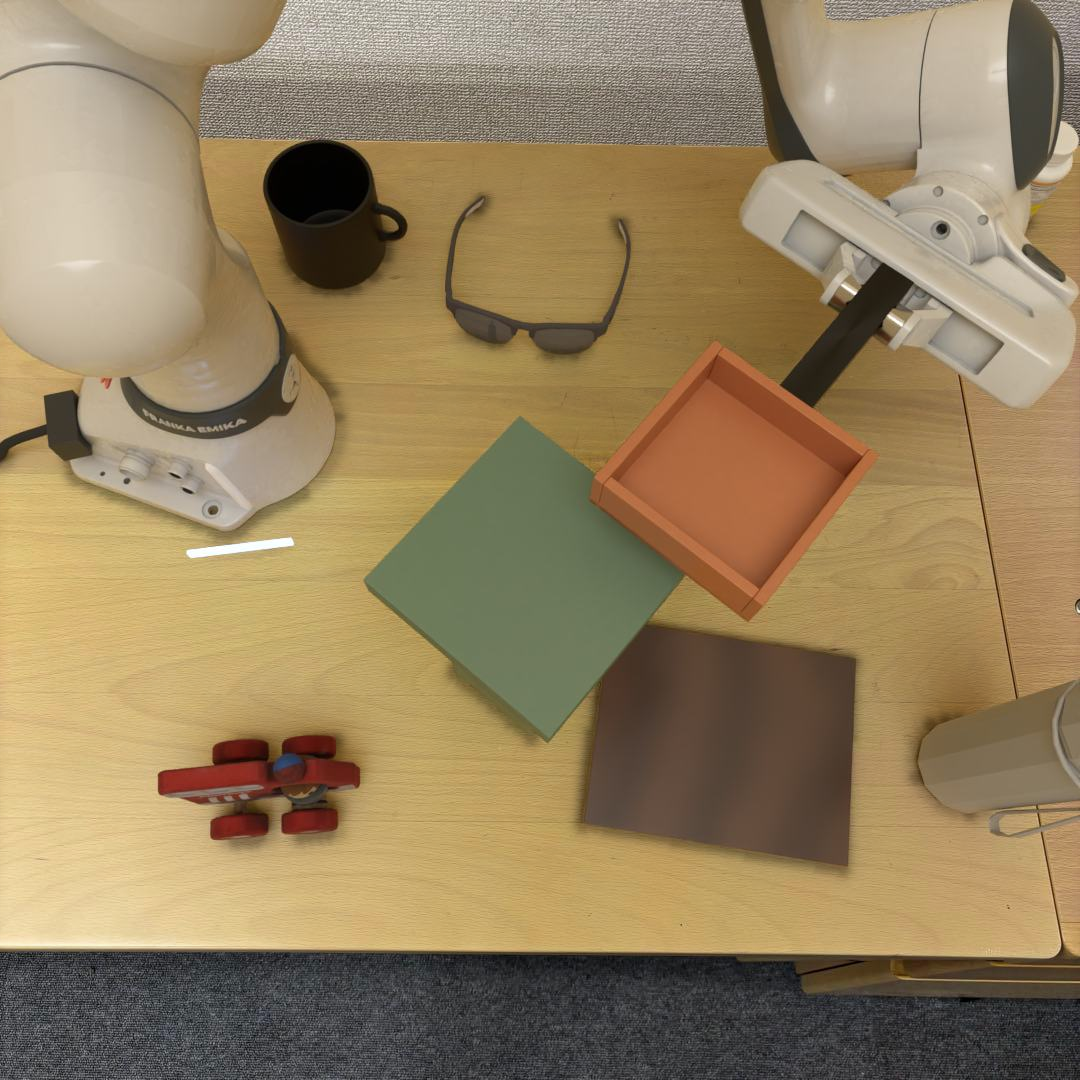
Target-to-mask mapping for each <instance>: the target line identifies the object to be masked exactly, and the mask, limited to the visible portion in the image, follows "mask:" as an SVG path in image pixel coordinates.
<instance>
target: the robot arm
mask: <svg viewBox="0 0 1080 1080" xmlns="http://www.w3.org/2000/svg"><path fill="white" fill-rule="evenodd" d="M288 1H289V0H0V328H1V330H2V332H3V333H4V334H5V336H6V337H7V338H8V339H9V340H10V342H12V343H13V344H14V345H15V346H17V347H18V348H19V349H20V350H22V351H23V352H25V353H26V354H28V355H30V356H31V357H33V358H35V359H36V360H38V361H40V362H42V363H44V364H47V365H49V366H51V367H53V368H56V369H58V370H61V371H64V372H66V373H70V374H75V375H79V376H81V377H82V376H83V380H82V383H81V386H80V391H79V394H77V392H76V391H75V390H73V389H69V390H64V391H59V392H55V393H54V392H53V393H48V394H44V395H43V402H44V416H45V424H42V425H39V426H36V427H32V428H30V429H25V430H23V431H20V432H17V433H15V434H13V435H10V436H8V437H6V438H4V439H3V440H1V441H0V462H1V461H3V460H5V459H6V458H7V456H8V454H9V451H10V450H11V449H12V448H14V447H16V446H18V445H21V444H23V443H25V442H28V441H31V440H36V439H38V438H41V437H44V436H47V444H48V445H47V446H48V448H49V449H50V450H51V451H52V452H53V453H54V454H55V455H57V457H59V458H60V459H61V460H62V461H64V462H68V461H69V464H70V466H71V470H72V472H73V473H74V475H75V476H76V477H77V478H78V479H80V480H82V481H83V482H87V483H89V484H91V485H94V486H97V487H100V488H103V489H104V490H108V491H111V492H113V493H116V494H119V495H122V496H124V497H127V498H129V499H133V500H135V501H138V502H141V503H144V504H147V505H149V506H152V507H154V508H157V509H159V510H163V511H166V512H168V513H171V514H173V515H176V516H179V517H181V518H185V519H187V520H191V521H193V522H195V523H198V524H201V525H204V526H207V527H209V528H211V529H214V530H218V531H221V532H225V533H226V532H232V531H235V530H237V529H239V528H240V527H241V526H243V525H244V524H245V523H247V521H248V520H250V519H251V518H252V517H253V516H254V515H255V514H256V513H257V512H259V510H262V509H264V508H265V507H268V506H270V505H273V504H276V503H279V502H280V501H283V500H285V499H287V498H290V497H291V496H293V495H294V494H296V493H297V492H299V491H300V490H302V489H303V488H305V487H306V486H307V485H308V484H310V483H311V482H312V481H313V479H315V477H316V476H317V475H318V474H319V473H320V471H321V470H322V469H323V467H324V465H325V464H326V462H327V460H328V459H329V457H330V454H331V451H332V449H333V446H334V443H335V439H336V428H337V427H336V426H337V425H336V424H337V423H336V415H335V410H334V407H333V404H332V402H331V398H330V397H329V395H328V393H327V391H326V390H325V389H324V387H323V386H322V385H321V384H320V383H319V381H317V379H316V378H315V377H313V376H312V375H311V374H310V372H309V371H308V369H306V367H305V366H304V365H303V364H302V363H301V361H300V360H299V358H298V356H297V354H296V350H295V348H294V345H293V342H292V340H291V337H290V335H289V332H288V330H287V327H286V326H285V324H284V322H283V320H282V318H281V316H280V314H279V312H278V310H277V309H276V307H275V306H274V305H273V304H272V302H270V301H271V300H269V299H267V296H266V294H265V292H264V289H263V287H262V284H261V282H260V279H259V277H258V275H257V272H256V270H255V268H254V266H253V263H252V260H251V259H250V256H249V253H248V252H247V250H246V248H245V247H244V246H243V245H242V243H241V242H240V241H239V240H238V239H237V238H236V237H235V236H234V235H233V234H231V233H230V232H229V231H227V230H226V229H225V228H223V227H221V226H220V225H217V224H216V222H215V219H214V216H213V211H212V207H211V203H210V198H209V194H208V189H207V185H206V178H205V174H204V168H203V164H202V157H201V144H200V118H201V117H200V116H201V115H200V113H201V100H202V94H203V89H204V86H205V82H206V79H207V76H208V74H209V72H210V70H211V69H212V67H213V66H225V65H231V64H235V63H239V62H241V61H243V60H245V59H247V58H249V57H250V56H252V55H255V54H256V53H257V52H258V51H259V50H260V49H262V48H263V46H264V45H266V43H267V42H268V41H269V40H270V38H271V37H272V35H273V33H274V32H275V28H276V26H277V24H278V22H279V20H280V18H281V15H282V13H283V12H284V9H285V7H286V6H287V3H288ZM740 4H741V8H742V12H743V17H744V21H745V25H746V29H747V34H748V38H749V42H750V46H751V51H752V55H753V59H754V63H755V67H756V73H757V76H758V81H759V84H760V89H761V98H762V109H763V118H764V119H763V121H764V128H765V137H766V141H767V146H768V149H769V152H770V153H771V155H772V157H773V158H774V159H775V161H777V162H776V163H773V164H769V165H768V166H766V167H764V168H763V169H762V170H761V172H760V173H759V174H758V176H757V177H756V178H755V180H754V182H753V183H752V185H751V187H750V189H749V190H748V192H747V194H746V196H745V198H744V200H743V201H742V203H741V204H740V205H741V206H740V208H739V210H738V214H737V217H738V221H739V224H740V226H741V227H742V229H743V230H744V231H746V232H747V233H748V234H750V235H751V236H752V237H754V238H756V239H757V240H759V241H761V243H763V244H765V245H766V246H768V247H769V248H771V249H772V250H774V251H775V252H777V253H778V254H779V255H781V256H783V257H784V258H786V259H787V260H788V261H790V262H791V263H793V264H795V265H796V266H797V267H799V268H800V269H802V270H803V271H805V272H806V273H808V274H809V275H811V276H812V277H813V278H815V279H816V280H818V281H819V282H820V283H821V285H822V288H823V290H824V291H823V293H822V294H821V296H820V297H819V299H818V301H819V302H820V303H821V304H823V305H824V306H825V307H828V308H829V309H831V310H832V311H834V312H835V313H836V314H838V315H839V314H840V312H841V311H842V310H843V309H844V308H845V306H846V305H847V304H848V303H849V302H850V301H851V300H852V299H853V298H854V297H855V296H856V294H857V293H858V292H859V291H860V289H861V288H862V286H863V285H864V284H865V283H866V281H867V280H868V279H869V278H870V277H871V275H872V274H873V273H874V272H875V271H876V269H877V268H878V267H879V266H880V265H881V263H883V262H884V263H886V264H887V265H889V266H890V267H892V268H893V269H895V270H896V271H898V272H899V273H901V274H902V275H904V276H906V277H907V278H909V279H910V280H912V281H913V282H914V284H913V285H912V287H911V288H910V290H909V291H908V293H907V294H906V296H905V297H904V298H903V300H902V301H901V302H900V303H898V304H897V305H896V306H895V307H894V308H893V309H892V310H891V311H890V312H889V314H888V315H887V316H886V318H885V319H884V320H883V322H882V325H881V326H880V327H879V328H878V329H877V330H876V332H875V333H874V334H873V336H872V338H873V339H874V340H876V341H877V342H879V343H880V344H881V345H883V346H884V347H886V348H888V349H889V350H890V351H892V352H893V353H895V352H896V351H897V350H898V349H899V347H901V346H903V347H912V348H919V349H920V350H921V351H923V352H924V353H926V354H928V355H929V356H930V357H932V358H933V359H935V360H936V361H938V362H939V363H941V364H942V365H943V366H945V367H947V368H948V369H949V370H951V371H953V372H954V373H955V374H957V375H958V376H960V377H961V378H963V379H964V380H966V381H968V382H969V383H970V384H972V385H973V386H975V387H976V388H978V389H979V390H980V391H982V392H984V393H985V394H986V395H989V397H991V398H993V399H994V400H996V401H997V402H998V403H999V404H1001V405H1002V406H1004V407H1006V408H1008V409H1011V410H1016V411H1026V410H1028V409H1029V408H1031V407H1032V406H1033V405H1034V404H1035V403H1036V402H1037V401H1038V400H1039V399H1040V398H1041V397H1042V396H1043V395H1044V394H1046V392H1048V390H1050V388H1051V387H1052V386H1053V385H1054V383H1055V382H1056V381H1057V380H1058V379H1059V378H1060V377H1061V376H1062V375H1063V373H1064V372H1065V371H1066V369H1067V368H1068V366H1069V365H1070V363H1071V360H1072V358H1073V354H1074V351H1075V347H1076V341H1077V322H1076V319H1075V316H1074V313H1073V312H1072V310H1071V309H1070V308H1071V306H1072V305H1073V304H1074V303H1075V301H1076V299H1077V298H1078V296H1079V295H1080V288H1079V287H1080V286H1079V285H1078V284H1077V283H1076V282H1075V280H1073V279H1072V278H1071V277H1070V276H1069V275H1067V274H1066V273H1065V271H1063V270H1062V269H1061V268H1060V267H1059V266H1058V265H1056V264H1055V263H1054V262H1053V261H1052V260H1050V259H1049V258H1048V257H1047V256H1046V255H1045V254H1044V253H1043V252H1041V251H1040V250H1039V249H1038V248H1037V247H1035V246H1034V245H1033V244H1032V243H1031V241H1030V240H1029V239H1028V238H1027V237H1026V236H1025V235H1026V232H1027V229H1028V225H1029V222H1030V220H1029V217H1030V211H1031V185H1030V183H1031V182H1032V181H1033V180H1034V179H1035V178H1036V177H1037V176H1038V174H1039V173H1040V172H1041V171H1042V170H1043V168H1044V167H1045V166H1046V165H1047V163H1048V162H1049V161H1050V159H1051V158H1052V155H1053V153H1054V150H1055V146H1056V142H1057V138H1058V133H1059V128H1060V123H1061V121H1062V115H1063V108H1064V100H1065V99H1064V98H1065V59H1064V58H1065V57H1064V51H1063V45H1062V40H1061V37H1060V34H1059V32H1058V31H1057V29H1056V28H1055V26H1054V25H1053V23H1052V22H1051V20H1050V19H1049V18H1048V17H1047V15H1046V14H1045V13H1044V12H1043V11H1042V10H1041V8H1040V7H1039V6H1037V5H1036V4H1035V3H1034V2H1033V1H1032V0H977V1H970V2H965V3H959V4H955V5H950V6H949V5H945V6H942V7H939V8H933V9H927V10H921V11H916V12H909V13H901V14H897V15H891V16H885V17H884V16H883V17H879V18H878V17H877V18H873V19H866V20H853V21H851V20H849V21H848V20H836V19H832V18H831V19H830V18H827V13H826V5H825V0H740ZM904 171H915V173H914V175H913V176H912V178H911V179H910V180H908V181H907V182H905V183H904V184H902V185H901V186H899V187H898V188H897V189H895V190H893V192H891V193H890V194H888V195H886V196H885V197H884V198H882V199H881V200H880V199H879V198H877V197H876V196H874V195H873V194H871V193H870V192H868V191H866V190H865V189H863V188H861V187H860V186H858V185H857V184H855V183H854V182H852V181H851V180H849V179H848V177H851V176H854V175H864V174H878V173H890V172H891V173H892V172H904ZM215 509H216V510H217V512H216V513H215V514H211V512H212V511H213V510H215ZM289 546H294V541H293V538H292V537H285V538H277V539H269V540H261V541H251V542H244V543H236V544H228V545H227V544H226V545H221V546H220V545H219V546H212V547H205V548H203V547H202V548H196V549H188V550H186V555H187V556H188V557H189V558H191V559H193V558H200V557H207V556H208V557H209V556H217V555H226V554H234V553H242V552H249V551H258V550H265V549H266V550H267V549H274V548H282V547H289Z"/></svg>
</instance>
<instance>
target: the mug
mask: <svg viewBox="0 0 1080 1080" xmlns="http://www.w3.org/2000/svg"><path fill="white" fill-rule="evenodd" d="M262 193H263V198H264V201H265V203H266V207H267V208H268V211H269V215H270V217H271V220H272V223H273V225H274V228H275V231H276V234H277V237H278V239H279V242H280V245H281V247H282V251H283V253H284V256H285V259H286V261H287V263H288V264H287V265H288V266H289V267H290V269H291V271H292V272H293V273H294V274H296V277H298V278H299V279H301V280H303V281H304V282H305V283H307V284H308V285H311V286H314V287H316V288H319V289H324V290H343V289H349V288H351V287H354V286H357V285H359V284H361V283H363V282H365V281H366V280H368V279H370V278H371V276H373V274H375V273H376V271H377V270H378V269H379V267H380V265H381V263H382V262H383V260H384V257H385V254H386V247H387V242H397V241H400V240H402V239H403V238H404V237H405V236H406V235H407V233H408V230H409V224H408V222H407V219H406V218H405V216H404V215H403V214H402V213H401V212H400V211H398V210H397V209H396V208H393V207H392V206H389V205H386V204H382V202H379V199H378V193H377V187H376V182H375V177H374V173H373V170H372V168H371V165H370V163H369V162H368V161H367V159H366V158H365V157H364V156H363V154H362V153H360V152H359V151H358V150H356V149H355V148H354V147H352V146H351V145H348V144H346V143H344V142H340V141H338V140H333V139H325V138H323V139H320V138H319V139H318V138H317V139H309V140H304V141H302V142H301V141H300V142H297V143H295V144H292V145H291V146H288V147H287V148H285V149H284V150H282V151H280V153H278V154H277V155H276V156H275V157H274V158H273V159H272V161H271V162H270V163H269V165H268V166H267V169H266V170H265V174H264V176H263V182H262ZM382 216H385V217H388V218H390V219H391V220H393V221H394V222H395V223H396V225H397V226H398V227H397V229H396V230H393V231H387V230H386V229H384V224H383V219H382Z"/></svg>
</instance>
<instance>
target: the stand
mask: <svg viewBox="0 0 1080 1080" xmlns="http://www.w3.org/2000/svg"><path fill="white" fill-rule="evenodd" d="M596 474H597V473H596V472H594V471H592V470H591V469H590V468H589V467H587V466H586V465H585V464H584V463H582V462H581V461H579V460H578V459H577V458H576V457H574V456H573V455H572V454H570V452H568V451H567V450H565V449H564V448H562V446H560V445H559V444H557V443H556V442H555V441H553V440H552V439H551V438H550V437H549V436H547V435H546V434H544V432H542V431H540V430H539V429H538V428H536V427H535V426H534V425H533V424H531V423H530V422H529V421H527V420H526V419H525V418H524V417H522V416H521V415H519V416H518V417H517V418H516V419H515V420H514V421H513V422H512V423H511V424H510V425H509V426H508V427H507V429H505V431H503V433H502V434H501V435H500V436H499V437H498V438H497V439H496V440H495V441H494V442H493V443H492V444H491V445H490V446H489V447H488V448H487V450H486V451H484V453H482V455H480V456H479V458H478V459H476V461H475V462H474V463H473V464H472V465H471V466H470V467H469V468H468V469H467V470H466V471H465V472H464V473H463V475H461V477H460V478H459V479H458V480H456V482H455V483H454V484H453V485H452V486H451V487H450V488H449V489H448V490H447V491H446V492H445V493H444V494H443V496H442V497H440V499H439V500H438V501H436V503H434V505H433V506H432V507H431V508H430V509H429V510H428V511H427V512H426V513H425V514H424V515H423V517H421V519H420V520H419V521H418V522H417V523H416V524H415V525H414V526H413V527H412V528H411V529H410V530H409V531H408V532H407V533H406V534H405V535H404V536H403V537H402V538H401V539H400V541H398V542H397V543H396V545H395V546H394V547H393V548H392V549H391V550H390V551H389V552H388V553H387V554H386V555H385V556H384V557H383V558H382V559H381V560H380V562H378V563H377V565H376V566H375V567H374V568H373V569H372V570H371V571H370V572H369V573H368V574H367V575H365V577H364V578H363V582H364V585H365V587H366V589H367V590H368V592H369V593H371V594H372V595H373V596H374V597H375V598H376V599H378V601H380V602H381V603H382V604H383V605H384V606H386V607H387V608H388V609H389V610H390V611H392V613H394V615H396V616H397V617H399V618H400V619H401V620H402V621H403V622H405V624H406V625H408V626H409V627H410V628H411V629H412V630H414V632H416V633H418V635H420V636H421V637H422V638H423V639H424V640H426V641H427V642H428V643H429V644H430V645H431V646H433V647H434V648H435V649H436V650H437V651H439V652H440V653H441V654H442V655H443V656H444V657H446V658H447V659H448V660H449V661H450V662H451V663H452V666H453V670H454V672H455V674H457V675H458V676H459V677H460V678H461V679H463V680H464V681H465V682H466V683H467V684H468V685H470V686H471V687H472V688H473V689H474V690H475V691H477V692H478V693H479V694H480V695H482V697H484V698H485V699H486V700H487V701H488V702H490V704H492V705H493V706H494V707H495V708H497V709H498V711H500V712H501V713H502V714H504V715H505V716H506V717H507V718H508V719H509V720H510V721H512V722H513V724H515V725H516V726H517V727H518V728H520V729H521V730H522V731H523V732H525V733H526V734H527V735H528V736H529V737H531V736H532V735H533V734H536V736H538V737H539V738H541V739H542V740H543V742H545V743H546V744H549V743H550V742H551V741H552V739H553V738H554V737H555V735H556V734H557V733H558V732H559V731H560V730H561V728H562V727H563V726H564V725H565V723H566V722H567V721H568V720H569V718H571V716H572V715H573V714H574V712H575V711H576V710H577V709H578V708H579V706H581V704H582V703H583V701H585V700H586V698H587V697H588V695H589V694H590V693H591V692H592V691H593V689H594V688H595V687H596V685H597V684H598V683H600V682H601V678H602V677H603V676H604V675H605V673H606V672H607V671H608V670H609V669H610V667H611V666H612V665H613V664H614V662H615V661H616V660H617V659H618V658H619V656H620V655H621V654H622V653H623V651H624V650H625V649H626V648H627V647H628V645H629V644H630V643H631V642H632V640H633V639H634V638H635V637H636V636H637V634H638V633H639V632H640V631H641V630H642V628H643V627H644V626H645V625H647V624H648V623H649V621H650V620H651V619H652V617H653V616H654V615H655V614H656V612H658V610H659V609H660V608H661V607H662V605H663V604H664V603H665V602H666V600H667V599H668V598H669V597H670V596H671V594H672V593H673V592H674V591H675V589H676V588H677V587H678V586H679V585H680V583H681V582H682V581H683V579H685V577H686V576H687V575H685V574H684V573H683V572H682V571H680V570H679V569H678V568H676V567H675V566H674V565H672V564H671V563H670V562H668V561H667V560H666V559H665V558H663V557H662V556H661V555H659V554H658V553H657V552H655V551H654V550H653V549H651V548H650V547H649V546H648V545H646V544H645V543H644V542H642V541H641V540H640V539H638V538H637V537H636V536H635V535H633V534H632V533H631V532H629V531H628V530H627V529H625V528H624V527H623V526H621V525H620V524H619V523H618V522H616V521H615V520H614V519H612V518H611V517H610V516H608V515H607V514H606V513H604V512H603V511H602V510H601V509H599V508H598V507H597V506H595V505H594V504H593V503H591V502H590V501H589V497H590V493H591V488H592V483H593V478H594V476H595V475H596Z"/></svg>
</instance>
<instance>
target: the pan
mask: <svg viewBox="0 0 1080 1080" xmlns="http://www.w3.org/2000/svg"><path fill="white" fill-rule="evenodd" d="M913 284H914V282H913V281H912V280H910V279H909V278H907V277H906V276H904V275H902V274H901V273H899V272H898V271H896V270H895V269H893V268H892V267H890V266H889V265H887V264H886V263H884V262H883V263H881V265H880V266H879V267H878V268H877V269H876V271H875V272H874V273H873V274H872V275H871V277H870V278H869V279H868V280H867V281H866V283H865V284H864V285H863V286H862V288H861V289H860V291H859V292H858V293H857V294H856V296H855V297H854V298H853V299H852V300H851V301H850V302H849V303H848V304H847V305H846V306H845V308H844V309H843V310H842V311H841V312H840V314H838V315H837V316H836V317H835V318H834V319H833V321H832V322H831V323H830V324H829V326H828V327H827V328H826V329H825V330H824V332H823V333H822V334H821V335H820V336H819V337H818V338H817V340H816V341H815V342H814V343H813V345H812V346H810V348H809V349H808V350H807V352H805V354H804V355H803V357H801V359H800V360H799V361H798V362H797V363H796V365H795V366H794V367H793V368H792V370H790V372H789V373H788V374H787V375H786V377H784V379H783V380H782V382H781V383H780V384H779V383H777V382H776V381H774V380H773V379H772V378H769V377H768V376H767V375H765V374H764V373H763V372H762V371H760V370H758V369H757V368H756V367H754V366H753V365H751V364H750V363H748V362H747V361H746V360H744V359H743V358H741V357H740V356H738V355H737V354H735V352H733V351H731V350H730V349H729V348H727V347H725V346H723V344H721V343H719V342H718V341H717V340H713V341H712V342H711V343H710V344H709V346H707V348H706V349H705V350H704V351H703V353H702V354H701V355H700V356H699V357H698V358H697V359H696V360H695V362H693V364H692V365H691V366H690V367H689V368H688V370H687V371H686V372H685V373H684V374H683V375H682V376H681V377H680V379H679V380H677V382H676V383H675V384H674V385H673V386H672V387H671V389H670V390H669V391H668V392H667V393H666V394H665V395H664V396H663V398H662V399H661V400H660V401H659V402H658V403H657V405H655V407H654V408H653V409H652V410H651V411H650V413H649V414H648V415H646V417H645V418H644V419H643V420H642V421H641V423H639V425H638V426H637V427H636V428H635V429H634V431H633V432H632V433H630V435H629V436H628V437H627V438H626V439H625V440H624V442H623V443H622V444H621V445H620V446H619V447H618V449H617V450H616V451H615V452H614V453H613V454H612V455H611V457H610V458H609V459H608V460H607V461H606V462H605V463H604V464H603V466H602V467H601V468H600V469H599V470H598V471H597V472H596V473H595V474H596V475H595V476H594V478H593V483H592V488H591V493H590V497H589V501H590V502H591V503H593V504H594V505H595V506H597V507H598V508H599V509H601V510H602V511H603V512H604V513H606V514H607V515H608V516H610V517H611V518H612V519H614V520H615V521H616V522H618V523H619V524H620V525H621V526H623V527H624V528H625V529H627V530H628V531H629V532H631V533H632V534H633V535H635V536H636V537H637V538H638V539H640V540H641V541H642V542H644V543H645V544H646V545H648V546H649V547H650V548H651V549H653V550H654V551H655V552H657V553H658V554H659V555H661V556H662V557H663V558H665V559H666V560H667V561H668V562H670V563H671V564H672V565H674V566H675V567H676V568H678V569H679V570H680V571H682V572H683V573H684V574H685V575H686V576H687V577H688V578H689V579H690V580H692V581H693V582H695V583H696V584H697V585H699V586H700V587H701V588H702V589H704V590H705V591H706V592H707V593H709V594H710V595H712V597H714V598H715V599H717V600H718V601H719V602H721V603H722V604H723V605H724V606H726V607H727V608H728V609H730V610H731V611H732V612H733V613H735V614H736V615H737V616H738V617H740V618H741V619H743V620H744V621H745V622H747V623H749V622H750V621H751V620H752V619H753V618H754V617H755V616H756V615H757V614H758V613H759V612H760V611H761V610H762V609H763V608H764V607H765V605H766V604H767V603H768V601H769V600H770V599H771V598H772V596H773V595H774V594H775V593H776V591H777V590H778V588H779V587H780V586H781V585H782V584H783V582H784V581H785V579H786V578H787V577H788V576H789V574H790V573H791V572H792V570H793V569H794V568H795V566H796V565H797V564H798V563H799V562H800V560H801V558H802V557H803V556H804V555H805V554H806V552H807V551H808V550H809V548H810V547H811V546H812V545H813V543H814V542H815V541H816V540H817V538H818V536H819V535H820V534H821V532H822V531H823V530H824V528H826V526H827V524H828V523H829V522H830V521H831V519H832V518H833V517H834V516H835V514H836V513H837V512H838V510H839V509H840V508H841V506H842V505H843V504H844V503H845V501H846V500H847V499H848V497H850V495H851V493H852V492H853V491H854V489H856V487H857V485H858V484H859V483H860V482H861V480H862V479H863V478H864V477H865V475H866V474H867V472H869V470H870V469H871V468H872V466H873V465H874V464H875V463H876V461H877V459H878V458H879V457H880V454H878V453H877V452H876V451H874V450H873V449H871V448H870V447H869V446H867V445H866V444H864V442H863V443H862V442H861V441H860V440H858V438H856V437H854V436H853V435H852V434H850V433H849V432H847V431H845V430H844V429H843V428H842V427H840V426H839V425H837V424H836V423H834V422H833V421H831V420H830V419H829V418H827V417H826V416H824V415H823V414H821V413H820V412H818V411H817V410H816V409H815V408H816V407H817V405H818V404H819V403H820V402H821V400H822V399H823V398H824V397H825V396H826V394H827V393H828V392H829V390H830V389H831V388H832V387H833V386H834V385H835V383H836V382H837V381H838V380H839V378H840V377H841V376H842V375H843V374H844V373H845V371H846V370H847V369H848V368H849V366H850V365H851V364H852V362H853V361H854V360H855V359H856V357H858V355H859V354H860V353H861V352H862V350H863V349H864V348H865V347H866V345H867V344H868V343H869V342H870V340H871V339H872V338H873V337H872V336H873V334H874V333H875V332H876V330H877V329H878V328H879V327H880V326H881V325H882V322H883V320H884V319H885V318H886V316H887V315H888V314H889V312H890V311H891V310H892V309H893V308H894V307H895V306H896V305H897V304H898V303H900V302H901V301H902V300H903V298H904V297H905V296H906V294H907V293H908V291H909V290H910V288H911V287H912V285H913Z"/></svg>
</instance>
